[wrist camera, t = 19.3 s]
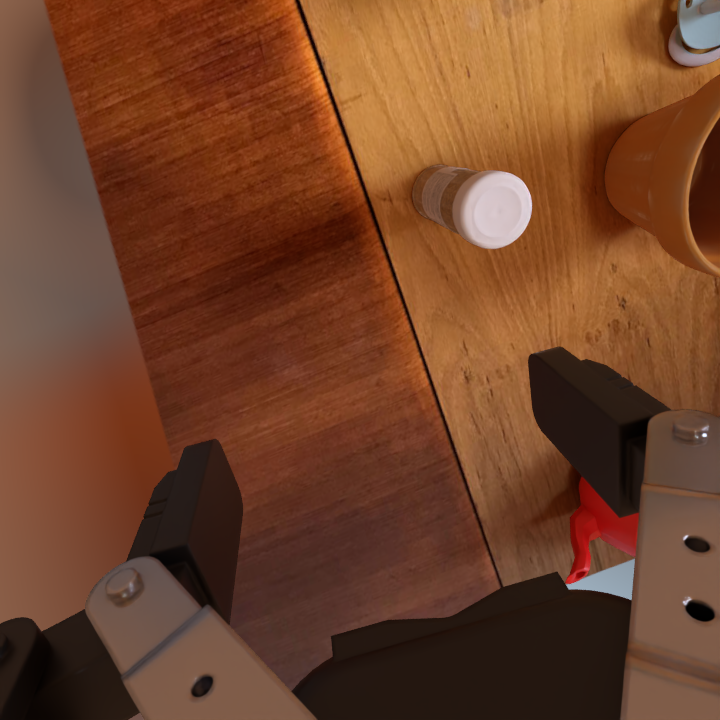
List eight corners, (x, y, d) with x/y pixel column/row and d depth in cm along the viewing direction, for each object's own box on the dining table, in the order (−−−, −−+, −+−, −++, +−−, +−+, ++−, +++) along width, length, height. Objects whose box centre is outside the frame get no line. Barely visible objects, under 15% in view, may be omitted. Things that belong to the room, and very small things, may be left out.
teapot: (714, 368, 53) (826, 427, 42) (733, 470, 59) (835, 545, 48) (502, 471, 55) (557, 554, 44) (543, 560, 61) (600, 652, 50)
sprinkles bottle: (472, 182, 42) (549, 197, 30) (443, 230, 43) (505, 263, 31) (428, 152, 40) (490, 156, 28) (399, 203, 42) (446, 227, 30)
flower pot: (718, 42, 40) (899, -1, 28) (735, 207, 46) (890, 228, 34) (557, 121, 41) (667, 111, 29) (594, 273, 47) (698, 316, 35)
